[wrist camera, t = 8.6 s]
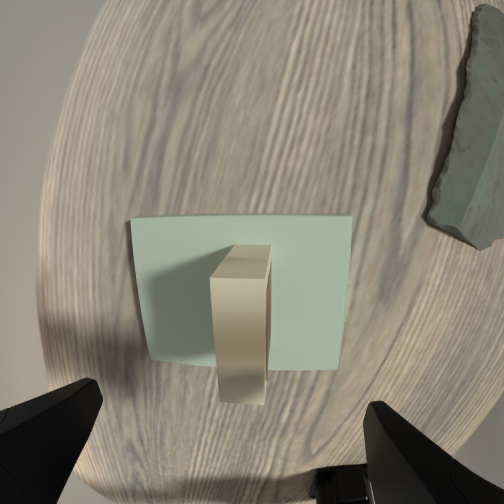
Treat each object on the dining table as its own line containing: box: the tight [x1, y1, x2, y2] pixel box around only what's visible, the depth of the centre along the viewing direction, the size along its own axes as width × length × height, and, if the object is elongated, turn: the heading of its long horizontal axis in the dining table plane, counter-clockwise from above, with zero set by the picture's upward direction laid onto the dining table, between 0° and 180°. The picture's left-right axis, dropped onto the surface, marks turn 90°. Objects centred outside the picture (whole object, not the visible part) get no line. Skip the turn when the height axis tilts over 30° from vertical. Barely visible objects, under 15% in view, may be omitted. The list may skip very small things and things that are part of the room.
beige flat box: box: [210, 244, 272, 405], centre depth 14 cm, size 6×2×6 cm, turn 1°
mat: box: [130, 214, 352, 370], centre depth 18 cm, size 10×13×1 cm
